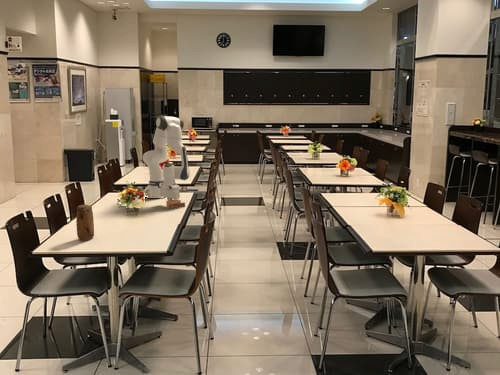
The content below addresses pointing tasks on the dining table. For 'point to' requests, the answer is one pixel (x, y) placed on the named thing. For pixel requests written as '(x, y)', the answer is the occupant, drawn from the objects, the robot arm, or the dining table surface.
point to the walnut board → (177, 205)
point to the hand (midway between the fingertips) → (169, 203)
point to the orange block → (172, 202)
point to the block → (85, 222)
